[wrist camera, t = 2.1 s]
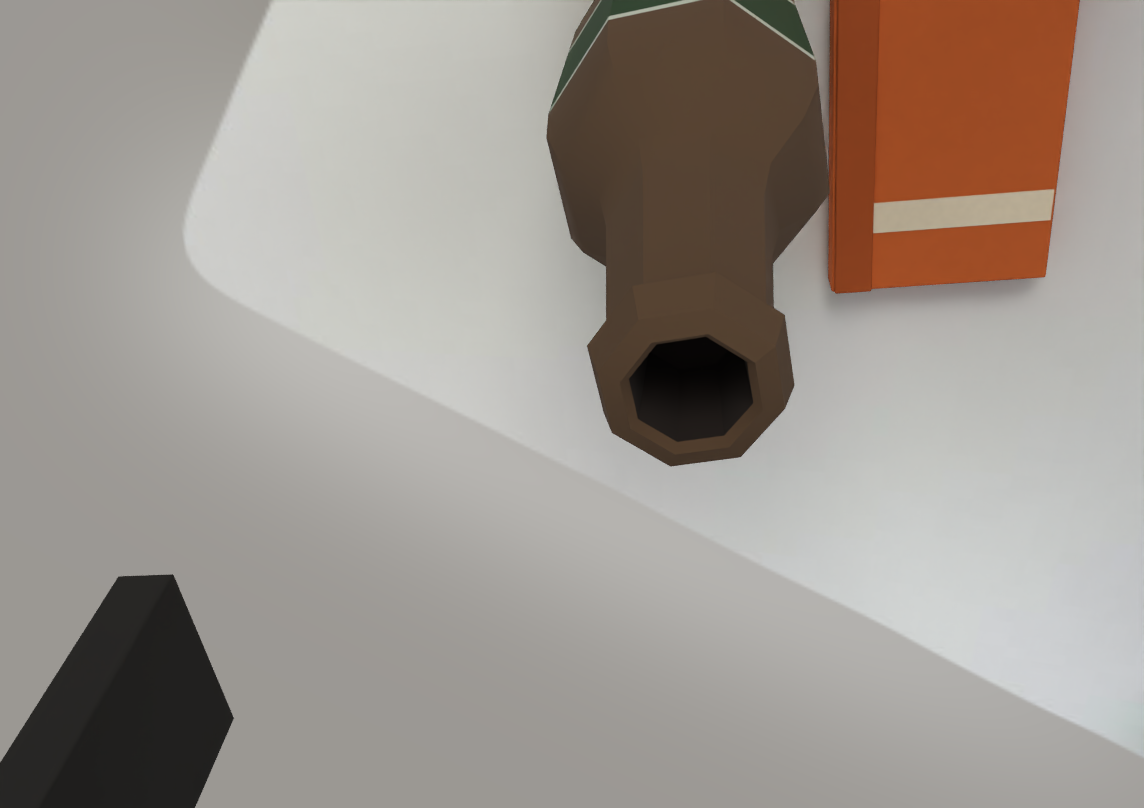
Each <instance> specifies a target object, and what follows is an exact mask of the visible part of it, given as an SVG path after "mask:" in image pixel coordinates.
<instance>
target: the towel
mask: <svg viewBox="0 0 1144 808" xmlns="http://www.w3.org/2000/svg"><path fill="white" fill-rule="evenodd" d="M1079 2H1080V0H830V87H829V189H830V193H829V254H828V278H829V282H830V286H831V290H832V291H835V293H836V294H837V293H852V292H867V291H871V289H877V288H892V287H907V286H922V285H936V284H951V283H966V282H981V281H995V280H1010V279H1025V278H1040V277H1045V275H1046V267H1047V259H1048V251H1049V243H1050V235H1051V227H1052V219H1053V211H1054V203H1055V195H1056V187H1057V179H1058V171H1059V163H1060V155H1061V147H1062V139H1063V130H1064V122H1065V114H1066V106H1067V98H1068V90H1069V82H1070V74H1071V66H1072V58H1073V50H1074V42H1075V34H1076V26H1077V18H1078V10H1079Z"/></svg>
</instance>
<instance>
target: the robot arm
mask: <svg viewBox="0 0 1144 808" xmlns="http://www.w3.org/2000/svg"><path fill="white" fill-rule="evenodd" d="M233 719H234V718H233V715H232V713H231V710H230V708H229V706H228V703H227V701H226V699H225V696H224V694H223V692H222V689H221V687H220V684H219V682H218V680H217V677H216V675H215V673H214V670H213V668H212V665H211V663H210V661H209V658H208V656H207V653H206V651H205V649H204V646H203V644H202V642H201V639H200V637H199V635H198V632H197V630H196V627H195V625H194V623H193V620H192V618H191V616H190V614H189V611H188V608H187V606H186V604H185V601H184V599H183V597H182V594H181V592H180V590H179V587H178V585H177V582H176V580H175V578H174V575H149V576H123V577H118V578H117V580H116V582H115V583H114V585H113V586H112V588H111V589H110V591H109V593H108V594H107V596H106V597H105V599H104V600H103V602H102V603H101V605H100V607H99V608H98V610H97V611H96V613H95V614H94V616H93V618H92V619H91V621H90V622H89V624H88V625H87V627H86V629H85V630H84V632H83V633H82V635H81V636H80V638H79V640H78V641H77V643H76V644H75V646H74V647H73V649H72V651H71V652H70V654H69V655H68V657H67V659H66V660H65V662H64V663H63V665H62V667H61V668H60V670H59V671H58V673H57V674H56V676H55V677H54V679H53V681H52V682H51V684H50V685H49V687H48V688H47V690H46V692H45V693H44V695H43V696H42V698H41V699H40V701H39V703H38V704H37V706H36V707H35V709H34V711H33V712H32V714H31V715H30V717H29V719H28V720H27V722H26V723H25V725H24V726H23V728H22V729H21V731H20V732H19V734H18V736H17V737H16V739H15V740H14V742H13V743H12V745H11V747H10V748H9V750H8V752H7V753H6V755H5V756H4V758H3V759H2V761H1V762H0V808H195V806H196V804H197V801H198V799H199V797H200V795H201V792H202V790H203V788H204V785H205V783H206V781H207V778H208V776H209V774H210V772H211V769H212V767H213V765H214V762H215V760H216V758H217V756H218V753H219V751H220V749H221V746H222V744H223V742H224V739H225V737H226V735H227V733H228V730H229V728H230V726H231V723H232V721H233Z"/></svg>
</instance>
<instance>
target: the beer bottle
mask: <svg viewBox="0 0 1144 808" xmlns="http://www.w3.org/2000/svg"><path fill="white" fill-rule="evenodd" d="M547 142H548V146H549V150H550V154H551V158H552V162H553V166H554V170H555V174H556V178H557V182H558V186H559V190H560V195H561V199H562V203H563V207H564V211H565V215H566V219H567V223H568V227H569V231H570V235H571V239H572V240H573V241H574V242H575V243H576V244H577V246H578V247H579V248H580V249H581V250H582V251H583V253H585V254H587V255H588V256H590V257H592V258H593V259H595V260H596V261H598V262H600V263H601V264H603V265H605V266H606V321H605V323H604V324H603V325H602V327H601V328H600V329H599V331H598V332H597V333H596V335H595V336H594V337H593V339H592V340H591V341H590V343H589V344H588V345H587V347H588V351H589V355H590V359H591V363H592V367H593V371H594V375H595V379H596V383H597V387H598V391H599V395H600V399H601V403H602V407H603V411H604V414H605V417H606V419H607V422H608V424H609V426H610V429H611V431H612V433H613V434H615V435H617V436H618V437H620V438H622V439H624V440H625V441H627V442H629V443H631V444H632V445H634V446H636V447H638V448H639V449H641V450H643V451H645V452H646V453H648V454H650V455H652V456H653V457H655V458H657V459H659V460H660V461H662V462H664V463H665V464H667V465H669V466H677V465H685V464H692V463H700V462H707V461H715V460H723V459H730V458H738V457H741V456H742V455H743V454H744V453H745V452H746V451H747V449H748V448H749V447H750V446H751V445H752V444H753V443H754V442H755V441H756V440H757V439H758V438H759V436H760V435H761V434H762V433H763V432H764V431H765V430H766V429H767V428H768V427H769V426H770V424H771V423H772V422H773V421H774V420H775V419H776V418H777V417H778V416H779V415H780V414H781V412H782V411H783V410H784V409H785V407H786V405H787V402H788V400H789V397H790V395H791V392H792V390H793V388H794V379H793V372H792V365H791V358H790V350H789V343H788V336H787V329H786V322H785V315H784V314H782V313H781V312H779V311H777V310H776V309H774V299H773V263H774V262H775V260H776V259H777V258H778V257H779V255H780V254H781V253H782V252H783V251H784V249H785V248H786V247H787V246H788V245H789V243H790V242H791V241H792V240H793V239H794V237H795V236H796V235H797V234H798V233H799V231H800V230H801V229H802V228H803V227H804V225H805V224H806V223H807V222H808V220H809V219H810V218H811V217H812V216H813V214H814V213H815V212H816V211H817V209H818V208H819V207H820V205H821V204H822V203H823V201H824V200H825V199H826V197H827V196H828V195H829V193H830V189H829V179H828V169H827V160H826V151H825V141H824V132H823V123H822V113H821V104H820V95H819V85H818V76H817V67H816V60H815V57H814V54H813V52H812V49H811V46H810V44H809V41H808V38H807V36H806V33H805V30H804V27H803V25H802V22H801V19H800V17H799V14H798V11H797V8H796V6H795V3H794V0H594V2H593V3H592V5H591V7H590V8H589V10H588V12H587V13H586V15H585V16H584V18H583V20H582V21H581V23H580V25H579V27H578V28H577V30H576V32H575V35H574V38H573V41H572V44H571V47H570V50H569V53H568V56H567V59H566V62H565V65H564V68H563V71H562V74H561V78H560V81H559V84H558V87H557V90H556V93H555V96H554V99H553V102H552V105H551V108H550V111H549V114H548V126H547Z"/></svg>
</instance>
